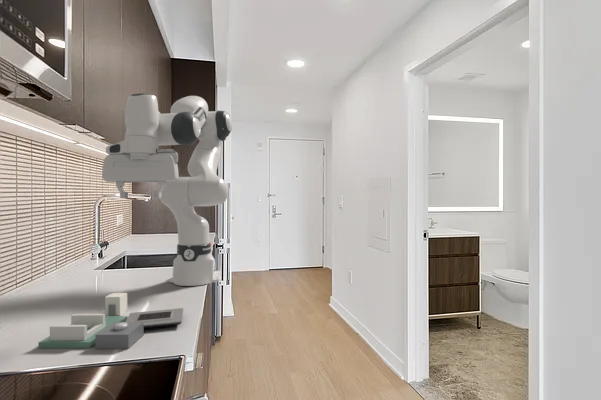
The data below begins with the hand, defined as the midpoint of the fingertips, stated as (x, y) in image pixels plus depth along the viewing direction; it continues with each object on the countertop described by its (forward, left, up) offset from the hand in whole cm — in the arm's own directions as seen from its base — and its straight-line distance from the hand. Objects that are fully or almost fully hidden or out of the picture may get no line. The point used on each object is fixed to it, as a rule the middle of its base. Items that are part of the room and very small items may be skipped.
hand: (140, 198), depth 99 cm
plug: (+2, -6, -32) cm, 32 cm away
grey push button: (+21, +5, -32) cm, 38 cm away
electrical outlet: (+10, +8, -32) cm, 35 cm away
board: (+16, -6, -32) cm, 36 cm away
